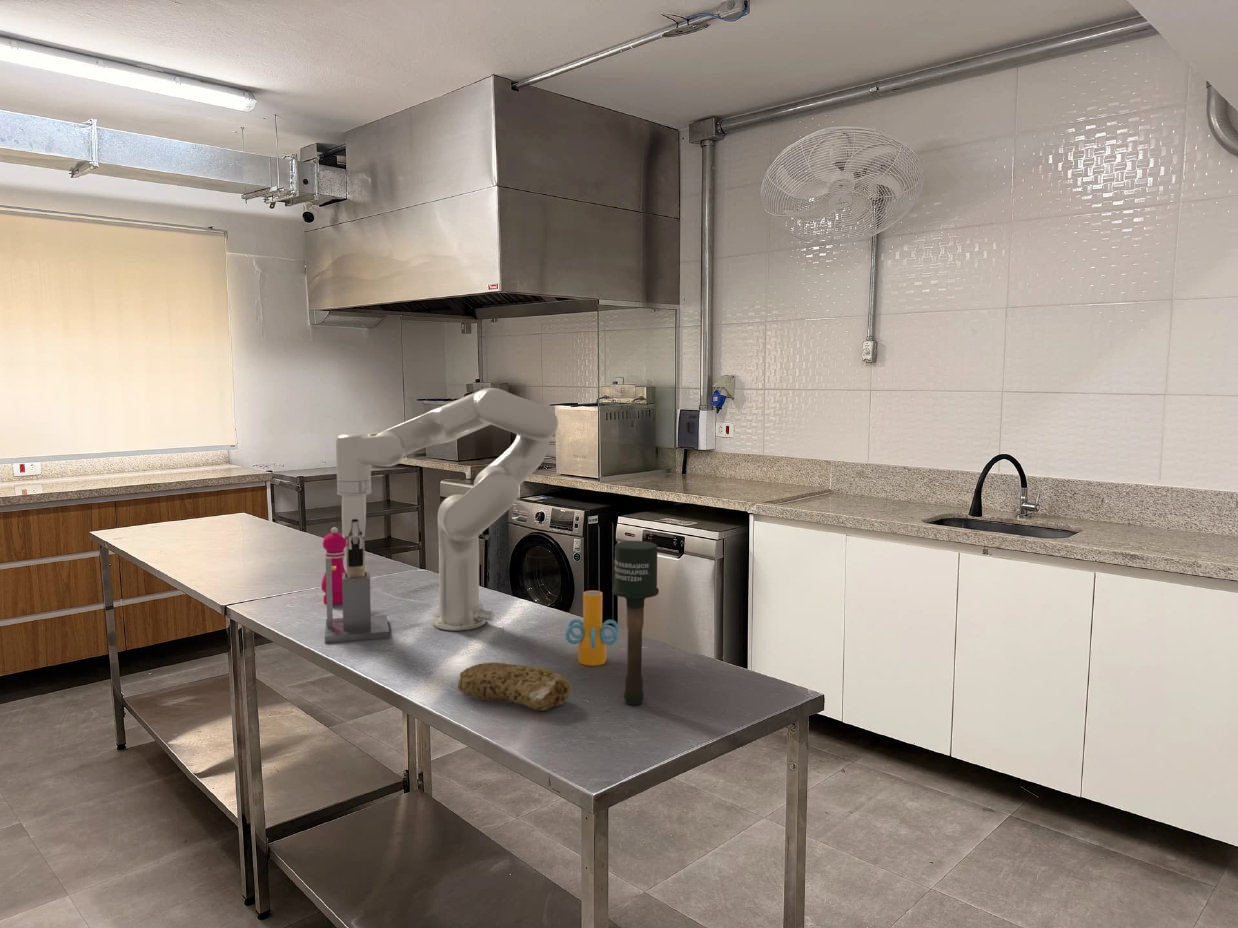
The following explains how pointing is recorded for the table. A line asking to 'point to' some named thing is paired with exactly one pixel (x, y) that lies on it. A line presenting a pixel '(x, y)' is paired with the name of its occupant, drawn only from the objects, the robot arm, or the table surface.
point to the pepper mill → (335, 564)
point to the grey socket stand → (353, 611)
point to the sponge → (514, 685)
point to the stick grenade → (635, 604)
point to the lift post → (358, 570)
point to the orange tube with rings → (592, 631)
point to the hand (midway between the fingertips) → (355, 561)
